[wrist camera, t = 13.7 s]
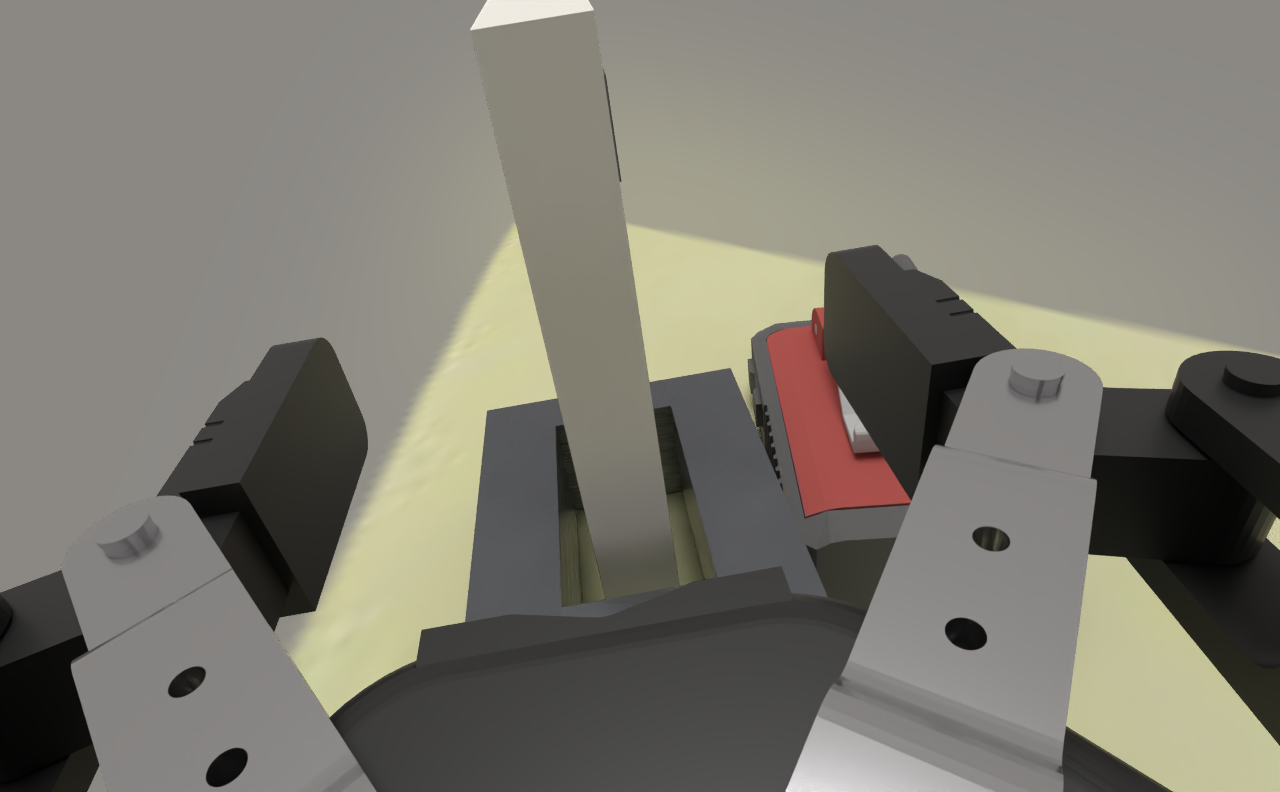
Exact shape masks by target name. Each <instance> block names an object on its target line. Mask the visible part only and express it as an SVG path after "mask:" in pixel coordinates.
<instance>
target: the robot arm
mask: <svg viewBox="0 0 1280 792" xmlns="http://www.w3.org/2000/svg"><path fill="white" fill-rule="evenodd" d="M824 350H825V356H826V360H827V364H828V367H829V370H830V373H831V375H832V376H833V378H834V380H835V381H836V383H837V384H838V386H839V388H840V389H841V391H842V392H843V394H844V396H845V397H846V399H847V400H848V402H849V403H850V405H851V407H852V408H853V410H854V411H855V413H856V415H857V416H858V418H859V419H860V421H861V423H862V424H863V426H864V427H865V429H866V430H867V432H868V434H869V435H870V437H871V438H872V440H873V442H874V443H875V445H876V446H877V448H878V449H879V451H880V453H881V454H882V456H883V457H884V459H885V461H886V462H887V464H888V465H889V467H890V468H891V470H892V472H893V473H894V475H895V476H896V478H897V480H898V481H899V483H900V484H901V486H902V487H903V489H904V491H905V492H906V494H907V495H908V497H909V499H910V500H911V503H910V506H909V508H908V511H907V513H906V516H905V518H904V521H903V523H902V526H901V528H900V531H899V533H898V536H897V538H896V541H895V543H894V546H893V549H892V551H891V554H890V556H889V559H888V561H887V564H886V566H885V569H884V571H883V574H882V576H881V579H880V581H879V584H878V586H877V589H876V591H875V594H874V596H873V599H872V601H871V604H870V606H869V609H866V608H863V607H860V606H858V605H855V604H852V603H849V602H845V601H841V600H837V599H833V598H829V597H823V596H816V595H809V594H797V593H791V590H790V588H789V585H788V582H787V580H786V577H785V574H784V571H783V569H782V566H779V567H773V568H768V569H762V570H756V571H751V572H745V573H740V574H734V575H728V576H723V577H717V578H711V579H706V580H700V581H695V582H692V583H689V584H687V585H684V586H682V587H679V588H677V589H674V590H672V591H669V592H667V593H665V594H662V595H660V596H657V597H655V598H652V599H650V600H647V601H645V602H642V603H640V604H637V605H635V606H632V607H630V608H627V609H625V610H623V611H620V612H618V613H615V614H612V615H609V616H605V617H570V616H545V615H520V614H509V615H503V616H498V617H492V618H486V619H481V620H475V621H469V622H464V623H458V624H452V625H447V626H441V627H436V628H430V629H424V630H422V631H421V637H420V643H419V649H418V655H417V661H415V662H412V663H410V664H408V665H405V666H403V667H401V668H399V669H397V670H396V671H394V672H392V673H390V674H388V675H386V676H384V677H382V678H381V679H379V680H378V681H376V682H375V683H373V684H371V685H370V686H368V687H367V688H365V689H364V690H362V691H361V692H360V693H358V694H357V695H356V696H355V697H353V698H352V699H351V700H349V701H348V702H347V703H345V704H344V705H343V706H342V707H341V708H340V709H339V710H337V711H336V712H335V713H334V714H333V715H332V716H331V717H329V716H328V714H327V713H326V711H325V709H324V708H323V706H322V705H321V703H320V702H319V700H318V699H317V697H316V696H315V694H314V693H313V691H312V690H311V688H310V686H309V685H308V683H307V682H306V680H305V679H304V677H303V676H302V674H301V673H300V671H299V670H298V668H297V666H296V665H295V663H294V662H293V660H292V659H291V657H290V656H289V654H288V653H287V651H286V650H285V648H284V646H283V645H282V643H281V642H280V640H279V639H278V637H277V636H276V634H275V633H274V631H275V628H276V625H277V623H278V620H279V618H280V617H285V616H291V615H296V614H301V613H308V612H313V611H316V608H317V605H318V602H319V599H320V595H321V592H322V589H323V586H324V583H325V580H326V577H327V574H328V571H329V568H330V565H331V562H332V559H333V556H334V553H335V550H336V547H337V544H338V541H339V538H340V535H341V531H342V528H343V525H344V522H345V519H346V516H347V513H348V510H349V507H350V504H351V501H352V498H353V495H354V491H355V489H356V485H357V483H358V480H359V477H360V474H361V471H362V467H363V465H364V461H365V458H366V455H367V450H368V438H367V430H366V426H365V422H364V419H363V416H362V414H361V411H360V409H359V407H358V404H357V402H356V400H355V398H354V395H353V393H352V390H351V388H350V386H349V383H348V381H347V379H346V377H345V374H344V372H343V370H342V367H341V365H340V363H339V360H338V358H337V356H336V353H335V351H334V349H333V347H332V346H331V344H330V343H329V342H328V341H327V340H326V339H324V338H315V339H310V340H304V341H298V342H292V343H286V344H280V345H274V346H272V347H271V348H270V349H269V351H268V352H267V354H266V356H265V357H264V359H263V360H262V362H261V364H260V365H259V367H258V368H257V370H256V371H255V373H254V375H253V376H252V378H251V379H250V381H245V382H244V383H242V384H241V385H240V386H239V387H238V388H236V389H235V390H234V391H233V392H231V393H230V394H229V395H228V396H226V397H225V398H224V399H223V400H221V401H220V402H219V404H218V405H217V406H216V408H215V409H214V411H213V412H212V414H211V415H210V417H209V418H208V420H207V421H206V423H205V425H206V427H205V428H202V429H201V431H200V432H199V434H198V435H197V436H196V438H195V440H194V441H193V443H194V446H190V447H189V448H188V450H187V451H186V453H185V455H184V456H183V457H182V459H181V461H180V462H179V463H178V465H177V467H176V468H175V470H174V471H173V472H172V474H171V475H170V477H169V478H168V480H167V482H166V483H165V484H164V486H163V487H162V489H161V490H160V492H159V493H158V495H157V496H156V497H152V498H147V499H143V500H140V501H137V502H134V503H132V504H129V505H126V506H125V507H122V508H120V509H118V510H116V511H114V512H112V513H111V514H108V515H107V516H105V517H103V518H102V519H100V520H99V521H97V522H95V523H94V524H93V525H91V526H90V527H89V528H87V529H86V530H85V531H84V532H83V533H82V534H81V535H79V536H78V537H77V539H76V540H75V541H74V542H73V543H72V544H71V545H70V547H69V548H68V549H67V551H66V553H65V555H64V557H63V559H62V563H61V569H62V570H60V571H58V572H55V573H52V574H50V575H47V576H44V577H42V578H39V579H36V580H33V581H31V582H28V583H25V584H23V585H20V586H17V587H15V588H12V589H9V590H7V591H4V592H1V593H0V792H87V791H88V789H89V787H90V784H91V782H92V780H93V778H94V775H95V774H96V772H97V769H98V767H99V765H100V768H101V771H102V775H103V778H104V782H105V785H106V788H107V792H1172V791H1171V790H1169V789H1168V788H1166V787H1164V786H1163V785H1161V784H1159V783H1158V782H1156V781H1155V780H1153V779H1151V778H1150V777H1148V776H1146V775H1145V774H1143V773H1142V772H1140V771H1138V770H1137V769H1135V768H1133V767H1132V766H1130V765H1128V764H1127V763H1125V762H1124V761H1122V760H1120V759H1119V758H1117V757H1115V756H1114V755H1112V754H1111V753H1109V752H1107V751H1106V750H1104V749H1102V748H1101V747H1099V746H1097V745H1096V744H1094V743H1093V742H1091V741H1089V740H1088V739H1086V738H1084V737H1083V736H1081V735H1080V734H1078V733H1076V732H1075V731H1073V730H1071V729H1070V728H1068V727H1067V726H1066V721H1067V713H1068V706H1069V698H1070V690H1071V682H1072V675H1073V667H1074V659H1075V652H1076V644H1077V636H1078V628H1079V621H1080V613H1081V605H1082V597H1083V590H1084V582H1085V574H1086V567H1087V559H1088V554H1091V555H1104V556H1117V557H1126V558H1127V559H1128V561H1129V562H1130V563H1131V565H1132V566H1133V567H1134V568H1135V570H1136V571H1137V572H1138V573H1139V574H1140V576H1141V577H1142V578H1143V579H1144V580H1145V582H1146V583H1147V584H1148V585H1149V587H1150V588H1151V589H1152V590H1153V591H1154V593H1155V594H1156V595H1157V596H1158V598H1159V599H1160V600H1161V601H1162V602H1163V604H1164V605H1165V606H1166V607H1167V609H1168V610H1169V611H1170V612H1171V613H1172V615H1173V616H1174V617H1175V618H1176V620H1177V621H1178V622H1179V623H1180V624H1181V626H1182V627H1183V628H1184V629H1185V631H1186V632H1187V633H1188V634H1189V635H1190V637H1191V638H1192V639H1193V640H1194V642H1195V643H1196V644H1197V645H1198V646H1199V648H1200V649H1201V650H1202V651H1203V653H1204V654H1205V655H1206V656H1207V657H1208V659H1209V660H1210V661H1211V662H1212V664H1213V665H1214V666H1215V667H1216V668H1217V670H1218V671H1219V672H1220V673H1221V675H1222V676H1223V677H1224V678H1225V679H1226V681H1227V682H1228V683H1229V684H1230V686H1231V687H1232V688H1233V689H1234V690H1235V692H1236V693H1237V694H1238V695H1239V697H1240V698H1241V699H1242V700H1243V701H1244V703H1245V704H1246V705H1247V706H1248V708H1249V709H1250V710H1251V711H1252V712H1253V714H1254V715H1255V716H1256V717H1257V719H1258V720H1259V721H1260V722H1261V723H1262V725H1263V726H1264V727H1265V728H1266V729H1267V731H1268V732H1269V733H1270V734H1271V736H1272V737H1273V738H1274V739H1275V740H1276V742H1277V743H1278V744H1279V745H1280V550H1279V549H1278V548H1277V547H1275V546H1274V545H1273V544H1272V543H1271V542H1270V541H1269V540H1268V539H1267V538H1266V537H1267V535H1268V533H1269V531H1270V529H1271V527H1272V525H1273V523H1274V521H1275V519H1276V517H1278V518H1279V519H1280V359H1279V358H1275V357H1271V356H1267V355H1262V354H1257V353H1250V352H1242V351H1212V352H1206V353H1200V354H1197V355H1194V356H1191V357H1190V358H1188V359H1186V360H1185V361H1184V362H1183V363H1182V364H1181V365H1180V367H1179V369H1178V372H1177V375H1176V378H1175V381H1174V384H1173V387H1172V389H1134V388H1106V387H1103V384H1102V381H1101V379H1100V377H1099V376H1098V375H1097V373H1096V372H1094V371H1093V370H1092V369H1091V368H1090V367H1088V366H1087V365H1085V364H1084V363H1082V362H1080V361H1078V360H1076V359H1074V358H1071V357H1069V356H1066V355H1063V354H1059V353H1056V352H1051V351H1046V350H1038V349H1016V348H1015V347H1014V346H1013V345H1012V344H1011V343H1010V342H1009V341H1008V340H1007V339H1005V338H1004V337H1003V336H1002V335H1001V334H1000V333H999V332H998V331H997V330H996V329H994V328H993V327H992V326H991V325H990V324H989V323H988V322H987V321H986V320H985V319H983V318H982V317H981V316H980V315H979V314H978V313H974V311H973V309H972V308H971V307H970V306H969V305H968V304H967V303H966V302H965V301H964V300H959V296H958V295H957V294H956V293H955V292H954V291H953V290H952V289H950V288H949V287H948V286H947V285H946V284H945V283H944V282H943V281H942V280H939V279H936V278H934V277H932V276H929V275H927V274H925V273H922V272H920V271H917V270H915V269H911V270H905V271H904V270H903V269H902V268H901V267H900V266H899V265H898V264H897V263H896V262H895V261H894V260H893V259H892V258H891V257H890V256H889V255H888V254H887V253H886V252H885V251H884V250H883V249H882V248H881V247H879V246H878V245H873V246H867V247H861V248H855V249H849V250H843V251H837V252H831V253H829V254H828V256H827V259H826V263H825V285H824Z"/></svg>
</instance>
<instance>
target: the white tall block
mask: <svg viewBox="0 0 1280 792" xmlns="http://www.w3.org/2000/svg"><path fill="white" fill-rule="evenodd" d="M470 33H471V38H472V42H473V46H474V50H475V54H476V59H477V62H478V66H479V71H480V75H481V79H482V84H483V88H484V92H485V96H486V100H487V105H488V109H489V113H490V117H491V121H492V126H493V130H494V134H495V138H496V142H497V146H498V150H499V154H500V158H501V163H502V167H503V172H504V176H505V180H506V184H507V188H508V192H509V197H510V201H511V205H512V209H513V213H514V218H515V222H516V226H517V230H518V234H519V239H520V243H521V247H522V251H523V255H524V259H525V264H526V268H527V272H528V276H529V280H530V285H531V289H532V293H533V297H534V301H535V306H536V310H537V314H538V318H539V322H540V326H541V331H542V335H543V339H544V343H545V347H546V352H547V356H548V360H549V364H550V368H551V372H552V377H553V381H554V385H555V389H556V393H557V398H558V402H559V406H560V410H561V414H562V418H563V423H564V427H565V431H566V435H567V439H568V444H569V448H570V452H571V456H572V460H573V465H574V469H575V473H576V477H577V481H578V485H579V490H580V494H581V498H582V502H583V506H584V511H585V515H586V519H587V523H588V527H589V531H590V536H591V540H592V544H593V548H594V552H595V557H596V561H597V565H598V569H599V573H600V577H601V582H602V586H603V590H604V594H605V598H606V599H611V598H616V597H622V596H627V595H633V594H638V593H644V592H649V591H655V590H660V589H666V588H671V587H677V586H680V585H679V578H678V572H677V565H676V558H675V552H674V545H673V538H672V531H671V525H670V518H669V511H668V504H667V498H666V491H665V484H664V478H663V471H662V464H661V457H660V451H659V444H658V437H657V430H656V424H655V417H654V410H653V403H652V397H651V390H650V383H649V377H648V370H647V363H646V356H645V350H644V343H643V336H642V329H641V323H640V316H639V309H638V303H637V296H636V289H635V282H634V276H633V269H632V262H631V255H630V249H629V242H628V235H627V228H626V222H625V215H624V208H623V202H622V195H621V188H620V182H621V177H620V169H619V162H618V155H617V149H616V142H615V135H614V128H613V122H612V115H611V108H610V101H609V94H608V87H607V81H606V75H605V72H604V70H603V67H602V60H601V54H600V47H599V40H598V34H597V27H596V20H595V13H594V9H593V8H592V6H591V4H590V3H589V1H588V0H487V2H486V4H485V5H484V7H483V9H482V10H481V12H480V14H479V15H478V17H477V19H476V21H475V22H474V24H473V26H472V27H471V29H470Z"/></svg>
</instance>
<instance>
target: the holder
mask: <svg viewBox="0 0 1280 792" xmlns="http://www.w3.org/2000/svg"><path fill="white" fill-rule="evenodd" d="M649 383H650V390H651V397H652V403H653V410H654V417H655V424H656V430H657V437H658V444H659V451H660V457H661V464H662V471H663V478H664V484H665V491H666V493H669V492H675V491H681V490H682V492H683V496H684V500H685V504H686V508H687V512H688V516H689V520H690V524H691V528H692V532H693V536H694V540H695V544H696V548H697V552H698V556H699V560H700V564H701V568H702V572H703V576H704V580H706V579H711V578H717V577H723V576H728V575H734V574H740V573H745V572H751V571H756V570H762V569H768V568H773V567H779V566H782V569H783V571H784V574H785V577H786V580H787V582H788V585H789V588H790V590H791V593H797V594H809V595H816V596H823V597H828V596H827V594H826V592H825V589H824V587H823V585H822V582H821V580H820V578H819V575H818V573H817V571H816V568H815V566H814V564H813V561H812V559H811V556H810V554H809V552H808V549H807V547H806V545H805V542H804V540H803V538H802V535H801V533H800V531H799V528H798V526H797V524H796V521H795V519H794V516H793V514H792V512H791V509H790V507H789V505H788V502H787V500H786V498H785V495H784V493H783V491H782V488H781V486H780V484H779V481H778V479H777V477H776V474H775V472H774V469H773V467H772V465H771V462H770V460H769V458H768V455H767V453H766V451H765V448H764V446H763V444H762V441H761V439H760V437H759V434H758V432H757V429H756V427H755V425H754V422H753V420H752V418H751V415H750V413H749V411H748V408H747V406H746V404H745V401H744V399H743V397H742V394H741V392H740V389H739V387H738V385H737V382H736V380H735V378H734V375H733V373H732V371H731V368H728V369H722V370H717V371H711V372H705V373H700V374H694V375H688V376H683V377H677V378H671V379H665V380H660V381H654V382H649ZM580 508H584V506H583V502H582V498H581V494H580V490H579V485H578V481H577V477H576V473H575V469H574V465H573V460H572V456H571V452H570V448H569V444H568V439H567V435H566V431H565V427H564V423H563V418H562V414H561V410H560V406H559V402H558V398H557V399H551V400H546V401H540V402H534V403H529V404H523V405H517V406H511V407H506V408H500V409H494V410H489V411H487V417H486V427H485V437H484V446H483V456H482V465H481V475H480V485H479V494H478V504H477V514H476V523H475V533H474V543H473V552H472V562H471V571H470V581H469V591H468V600H467V610H466V620H465V622H469V621H475V620H481V619H486V618H492V617H498V616H503V615H509V614H520V615H545V616H570V617H605V616H609V615H612V614H615V613H618V612H620V611H623V610H625V609H627V608H630V607H632V606H635V605H637V604H640V603H642V602H645V601H647V600H650V599H652V598H655V597H657V596H660V595H662V594H665V593H667V592H669V591H672V590H674V589H677V588H679V587H682V586H684V585H682V586H677V587H671V588H666V589H660V590H655V591H649V592H644V593H638V594H633V595H627V596H622V597H616V598H611V599H606V600H600V601H595V602H589V603H584V604H582V597H581V581H580V566H579V550H578V534H577V518H576V509H580Z"/></svg>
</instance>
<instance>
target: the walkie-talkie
mask: <svg viewBox="0 0 1280 792" xmlns="http://www.w3.org/2000/svg"><path fill="white" fill-rule="evenodd" d="M892 259H893V260H894V261H895V262H896V263H897V264H898V265H899V266H900V267H901V268H902V269H903V270H904V271H905V270H911V269H915V270H917V268H916V267H915V265H914V264H913V262H912V261H911V259H910V258H909V257H908V256H906V255H903V254H902V255H901V254H900V255H896V256H894V257H893V258H892ZM917 271H918V270H917ZM751 346H752V359H748V372H749V384H750V390H751V394H753V397H754V414H755V420H756V426H757V427H760V430H761V436H762V442H763V446H764V448H765V451H766V453H767V455H768V458H769V460H770V462H771V465H772V467H773V469H774V472H775V474H776V477H777V479H778V481H779V484H780V486H781V488H782V491H783V493H784V495H785V498H786V500H787V502H788V505H789V507H790V509H791V512H792V514H793V516H794V519H795V521H796V524H797V526H798V528H799V531H800V533H801V535H802V538H803V540H804V542H805V545H806V547H807V549H808V552H809V554H810V556H811V559H812V561H813V564H814V566H815V568H816V571H817V573H818V575H819V578H820V580H821V582H822V585H823V587H824V589H825V592H826V594H827V596H828V597H829V598H833V599H837V600H841V601H845V602H849V603H852V604H855V605H858V606H860V607H863V608H866V609H869V606H870V604H871V601H872V599H873V596H874V594H875V591H876V589H877V586H878V584H879V581H880V579H881V576H882V574H883V571H884V569H885V566H886V564H887V561H888V559H889V556H890V554H891V551H892V549H893V546H894V543H895V541H896V538H897V536H898V533H899V531H900V528H901V526H902V523H903V521H904V518H905V516H906V513H907V511H908V508H909V506H910V503H911V500H910V499H909V497H908V495H907V494H906V492H905V491H904V489H903V487H902V486H901V484H900V483H899V481H898V480H897V478H896V476H895V475H894V473H893V472H892V470H891V468H890V467H889V465H888V464H887V462H886V461H885V459H884V457H883V456H882V454H881V453H880V451H879V449H878V448H877V446H876V445H875V443H874V442H873V440H872V438H871V437H870V435H869V434H868V432H867V430H866V429H865V427H864V426H863V424H862V423H861V421H860V419H859V418H858V416H857V415H856V413H855V411H854V410H853V408H852V407H851V405H850V403H849V402H848V400H847V399H846V397H845V396H844V394H843V392H842V391H841V389H840V388H839V386H838V384H837V383H836V381H835V380H834V378H833V376H832V375H831V373H830V370H829V367H828V364H827V360H826V356H825V350H824V307H823V308H814V309H813V312H812V320H810V321H796V322H789V323H779V324H774V325H772V326H770V327H768V328H766V329H764V330H762V331H760V332H758V333H757V334H756V335H755V336H754V337H753V338H751ZM772 426H773V427H772Z"/></svg>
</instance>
